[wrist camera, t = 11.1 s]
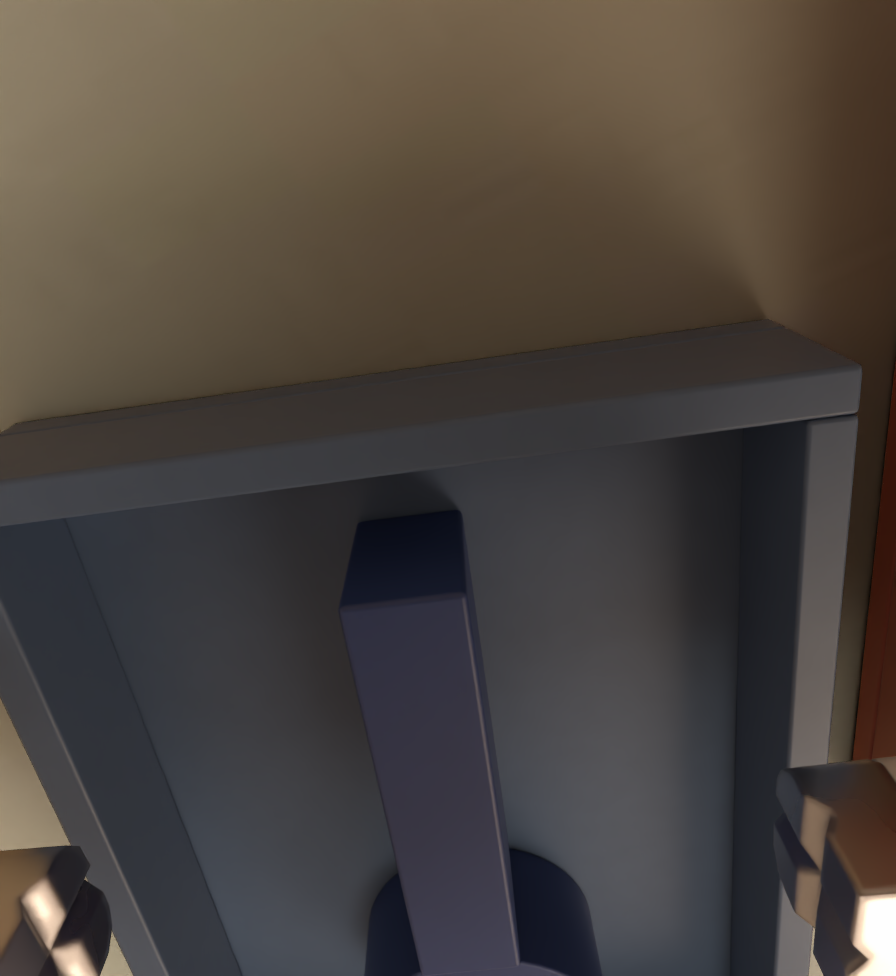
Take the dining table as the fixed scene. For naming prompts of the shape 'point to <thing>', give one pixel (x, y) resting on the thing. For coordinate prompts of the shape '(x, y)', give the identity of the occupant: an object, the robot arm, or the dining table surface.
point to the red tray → (881, 624)
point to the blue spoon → (445, 772)
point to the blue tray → (502, 629)
